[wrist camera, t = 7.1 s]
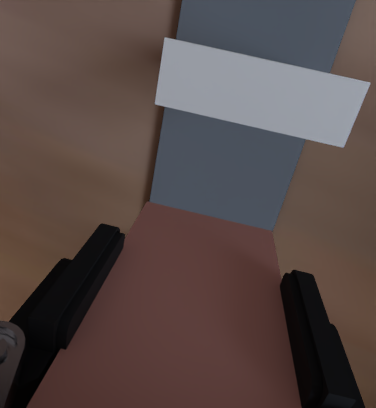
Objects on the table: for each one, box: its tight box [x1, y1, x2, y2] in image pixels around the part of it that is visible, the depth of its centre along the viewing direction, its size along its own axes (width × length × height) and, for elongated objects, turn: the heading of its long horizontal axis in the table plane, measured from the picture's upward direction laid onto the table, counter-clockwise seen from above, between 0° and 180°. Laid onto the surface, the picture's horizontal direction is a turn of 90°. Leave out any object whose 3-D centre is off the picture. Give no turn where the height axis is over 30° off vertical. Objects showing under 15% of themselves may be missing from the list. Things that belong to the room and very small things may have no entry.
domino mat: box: [149, 0, 356, 231], centre depth 20 cm, size 30×8×1 cm, turn 169°
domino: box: [155, 37, 370, 148], centre depth 13 cm, size 2×5×10 cm, turn 79°
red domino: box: [26, 201, 302, 408], centre depth 9 cm, size 2×5×10 cm, turn 79°
